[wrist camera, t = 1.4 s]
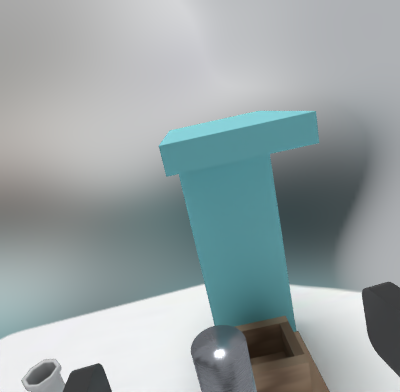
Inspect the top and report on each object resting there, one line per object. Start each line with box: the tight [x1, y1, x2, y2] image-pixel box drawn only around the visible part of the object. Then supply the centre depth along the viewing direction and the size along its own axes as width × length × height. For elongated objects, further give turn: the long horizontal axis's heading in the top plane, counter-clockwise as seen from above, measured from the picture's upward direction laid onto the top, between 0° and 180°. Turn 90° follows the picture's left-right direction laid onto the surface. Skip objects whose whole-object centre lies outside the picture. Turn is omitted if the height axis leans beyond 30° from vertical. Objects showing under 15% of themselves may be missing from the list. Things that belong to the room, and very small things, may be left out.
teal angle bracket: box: [159, 111, 319, 332], centre depth 30 cm, size 10×15×28 cm, turn 3°
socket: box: [235, 316, 329, 392], centre depth 33 cm, size 10×10×5 cm
